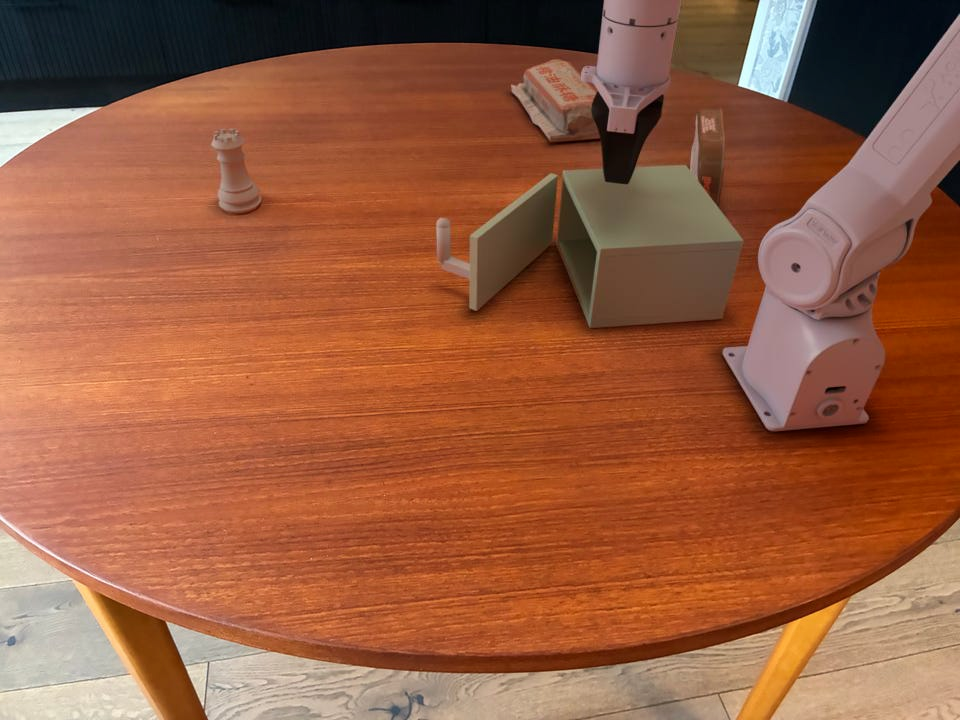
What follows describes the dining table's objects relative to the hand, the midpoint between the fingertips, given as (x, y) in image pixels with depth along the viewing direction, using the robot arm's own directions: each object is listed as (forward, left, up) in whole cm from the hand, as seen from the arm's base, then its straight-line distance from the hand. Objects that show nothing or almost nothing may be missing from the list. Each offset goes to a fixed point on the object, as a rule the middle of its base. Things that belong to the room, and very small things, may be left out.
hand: (617, 179), depth 67 cm
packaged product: (+38, -4, -10) cm, 39 cm away
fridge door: (+1, +11, -9) cm, 14 cm away
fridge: (-2, -2, -9) cm, 10 cm away
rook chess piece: (+17, +36, -10) cm, 41 cm away
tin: (+14, -14, -10) cm, 22 cm away
